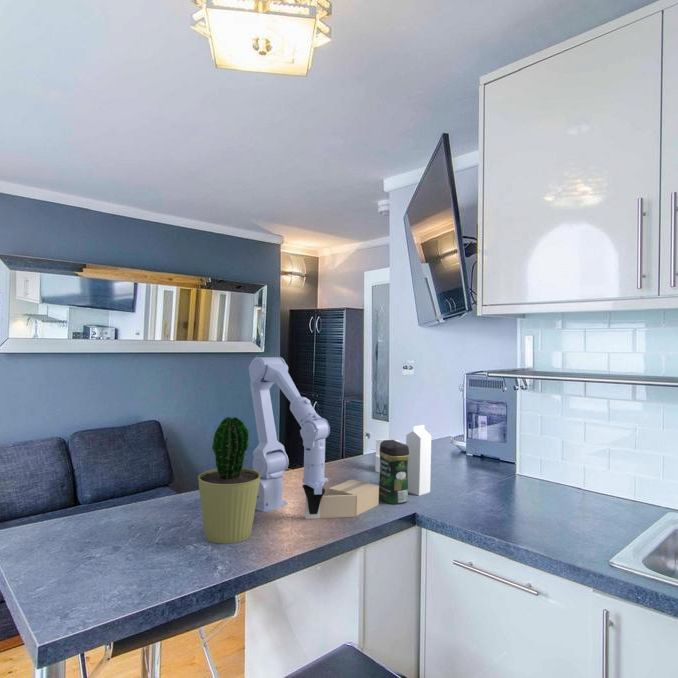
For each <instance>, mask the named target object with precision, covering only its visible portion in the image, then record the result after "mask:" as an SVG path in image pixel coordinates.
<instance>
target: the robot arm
mask: <svg viewBox="0 0 678 678" xmlns="http://www.w3.org/2000/svg"><path fill="white" fill-rule="evenodd" d="M248 373H249V379H250V391H251V392H250V393H251V398H252V405H253V411H254V417H255V425H256V431H257V432H256V433H257V438H258V445H257V447H255V449H254V450H253V452H252V457H253V460H252V470H255V471H258V472H259V473H260V474H261V477H260V483H259V489H258V495H257V501H256V507H255V511H256V510H257V511H259V512H263V513H270V512H271V511H274V510H277V509H279V508H283V507H284V506H288V505H289V502H287V501H283V480H284V479H283V478H284V477H283V475H285V471H286V470H287V469H288V467H289V465H290V463H289V462H290V461H289V457H288V454H287V453H286V449H285V446H284V444H282V443H281V442H279V441H278V436H277V430H276V429H277V428H276V425H275V418H274V417H275V416H274V412H273V404H272V399H271V393H270V392H271V390H270V389H271V388H272V387H273V385H274V384H276V385H277V387H278V388H279V389H280V390H281V392H282V393H283V394H284V396H285V397H286V399H288V401H289V402H290V404H289V410H290V412H291V413H292V415H293V416H294V418H295V420H296V421H297V423H298V424H299V426H300V427H301V429H299V433H300V436H301V438H302V446H303V447H304V449H303V450H304V451H303V454H304V455H303V478H302V483H303V484H302V485H301V486H302V489H303V491H304V493H305V497H306V496H307V500H308V508H309V513H310V514H317V513H318V510H319V505H320V501H321V499H322V496H325V493H326V489H325V488H324V484H325V483H329V478H328V477H325V467H326V466H325V463H326V462H325V461H326V438H328V437H329V435H330V433H331V426H330V424H329V421H328V420H327V419H326V418H324V417H321V416H320V415H319V414H318V413H317V412H316V410H315V408H314V407H313V405H312V402H311V400H310V399H309V398H307V397H304V396H301V394H300V391H299V390H298V389H297V387H296V384H295V382H294V381H293V378H292V377H291V375H290V373H289V366H288V364H287V363H286V361H285V359H284V358H283V357H281V356H274V357H268V356H267V357H264V356H263V357H260V356H255V357H254V358H253V359H252V361H251V362H250V364H249V366H248Z"/></svg>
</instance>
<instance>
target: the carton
mask: <svg viewBox="0 0 678 678" xmlns="http://www.w3.org/2000/svg"><path fill="white" fill-rule="evenodd" d="M332 495H356V513H355V517H357V516H359V515H361V514H364V513H365V512H367V511H369V510H371V509H372V508H376V507H377V506H379V504H380V503H379V502H380V501H379V500H380V498H379V484H373V483H370V482H366V481H359V480H356V479H349V480H347V481H345V482H342V483H339V484H336V485H333V486H331V487H329V488H328V496H332Z"/></svg>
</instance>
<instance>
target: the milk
mask: <svg viewBox="0 0 678 678" xmlns="http://www.w3.org/2000/svg"><path fill="white" fill-rule="evenodd" d="M425 426H426V425H425V424H419V425H413V427H412V428H413V429H412V431H411V432H409V433H407V434H406V435H405V436H406V437H405V444H406V445H407V446H408V447H409V459H408V494H412V495H416V496H419V497H420V496H422V495H423V496H424V495H426V494H429V493H431V468H432V466H431V465H432V435H431V433H429V432H428V431H427V430H426V429H425Z"/></svg>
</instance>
